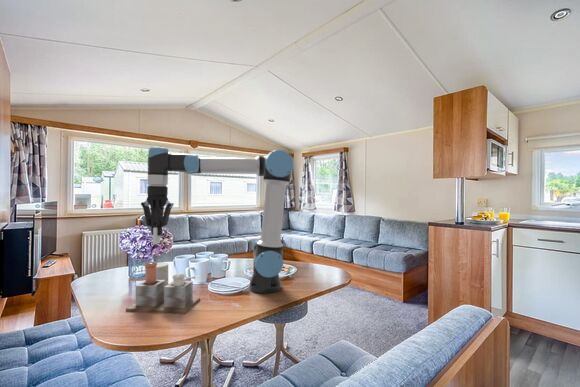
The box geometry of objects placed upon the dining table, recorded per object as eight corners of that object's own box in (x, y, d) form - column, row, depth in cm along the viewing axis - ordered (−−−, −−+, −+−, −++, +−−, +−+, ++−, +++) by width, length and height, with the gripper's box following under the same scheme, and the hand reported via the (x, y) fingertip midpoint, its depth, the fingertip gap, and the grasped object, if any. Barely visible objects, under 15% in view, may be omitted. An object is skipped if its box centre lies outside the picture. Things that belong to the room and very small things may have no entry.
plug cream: (186, 297, 119) (186, 273, 119) (181, 302, 114) (181, 277, 114) (176, 297, 119) (176, 273, 119) (170, 301, 115) (170, 276, 115)
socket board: (200, 299, 123) (200, 279, 123) (184, 314, 109) (184, 290, 109) (147, 297, 126) (147, 277, 126) (126, 311, 112) (125, 288, 112)
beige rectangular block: (161, 294, 130) (161, 267, 130) (145, 292, 132) (145, 266, 131) (172, 288, 138) (171, 263, 138) (157, 286, 140) (156, 262, 139)
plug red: (159, 285, 120) (159, 262, 120) (153, 289, 116) (152, 265, 115) (149, 285, 121) (148, 261, 120) (142, 289, 116) (142, 264, 116)
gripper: (177, 186, 120) (176, 242, 120) (147, 185, 121) (146, 241, 122) (168, 185, 113) (166, 245, 113) (136, 185, 114) (135, 244, 114)
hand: (156, 243), depth 117 cm, fingers closed
